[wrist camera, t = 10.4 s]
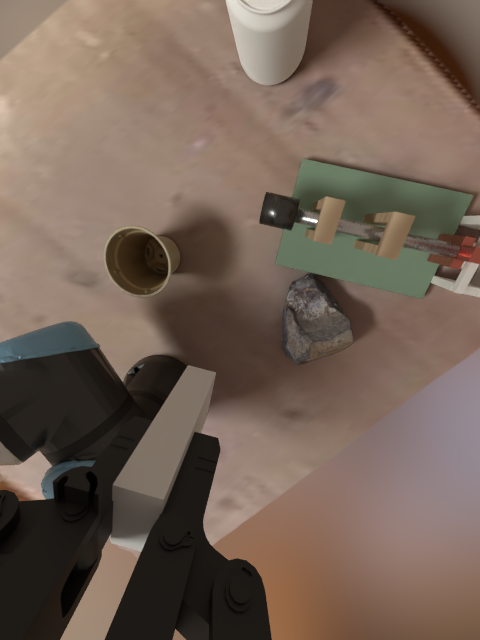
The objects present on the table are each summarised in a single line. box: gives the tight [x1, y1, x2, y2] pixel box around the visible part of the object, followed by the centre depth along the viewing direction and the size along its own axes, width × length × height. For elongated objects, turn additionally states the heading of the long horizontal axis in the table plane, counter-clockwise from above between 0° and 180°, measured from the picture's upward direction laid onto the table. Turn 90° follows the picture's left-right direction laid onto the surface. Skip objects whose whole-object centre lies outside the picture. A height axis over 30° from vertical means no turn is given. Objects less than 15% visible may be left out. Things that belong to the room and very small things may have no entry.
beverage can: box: [226, 0, 313, 85], centre depth 26 cm, size 8×8×12 cm
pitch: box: [275, 159, 474, 299], centre depth 37 cm, size 22×14×2 cm, turn 78°
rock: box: [281, 273, 354, 365], centre depth 41 cm, size 14×11×5 cm
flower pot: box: [104, 226, 180, 297], centre depth 39 cm, size 9×9×9 cm
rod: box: [259, 192, 480, 269], centre depth 32 cm, size 25×4×8 cm, turn 78°
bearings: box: [304, 196, 416, 260], centre depth 32 cm, size 9×4×10 cm, turn 78°
